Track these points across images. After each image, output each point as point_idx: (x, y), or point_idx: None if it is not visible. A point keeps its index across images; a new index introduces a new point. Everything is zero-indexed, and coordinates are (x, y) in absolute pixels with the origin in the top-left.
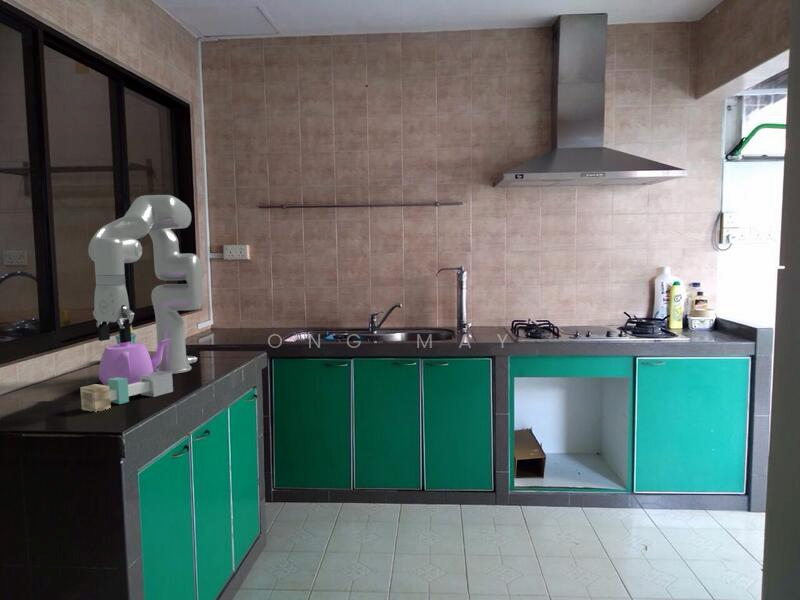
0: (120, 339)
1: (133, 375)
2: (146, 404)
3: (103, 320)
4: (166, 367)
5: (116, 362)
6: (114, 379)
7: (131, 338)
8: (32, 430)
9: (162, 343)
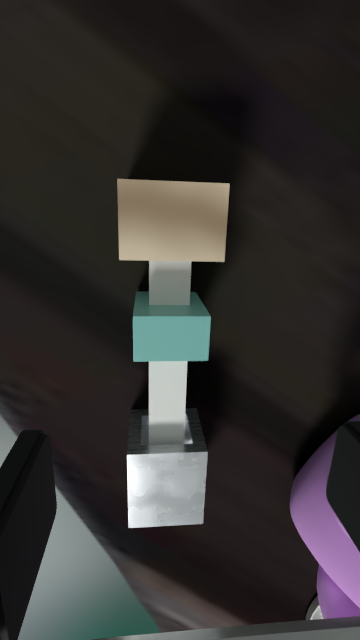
0: (22, 447)
1: (314, 481)
2: (57, 336)
3: (313, 638)
4: None
5: None
6: (172, 325)
7: None
8: None
9: None
